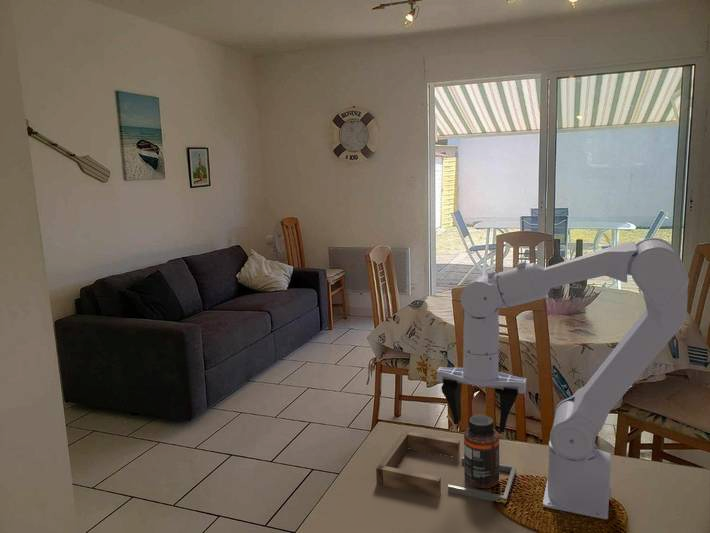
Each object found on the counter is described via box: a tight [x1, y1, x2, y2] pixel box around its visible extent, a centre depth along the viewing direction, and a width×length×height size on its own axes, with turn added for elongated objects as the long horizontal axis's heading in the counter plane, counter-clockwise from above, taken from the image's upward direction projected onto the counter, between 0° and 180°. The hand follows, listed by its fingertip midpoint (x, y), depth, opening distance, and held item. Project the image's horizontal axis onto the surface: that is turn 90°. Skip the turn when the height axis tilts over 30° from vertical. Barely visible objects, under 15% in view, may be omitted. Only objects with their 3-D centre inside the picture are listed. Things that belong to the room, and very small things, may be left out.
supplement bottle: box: [463, 414, 500, 489], centre depth 95 cm, size 6×6×11 cm
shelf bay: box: [375, 430, 461, 498], centre depth 100 cm, size 11×14×3 cm
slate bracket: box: [447, 456, 517, 502], centre depth 96 cm, size 10×10×1 cm
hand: (479, 425), depth 94 cm, fingers open, 7 cm apart
